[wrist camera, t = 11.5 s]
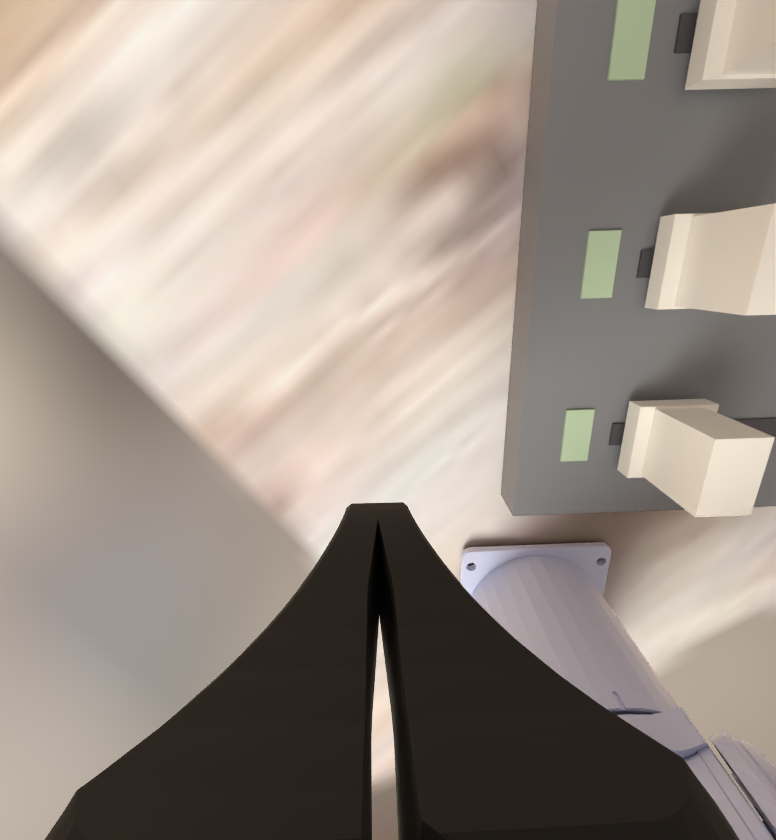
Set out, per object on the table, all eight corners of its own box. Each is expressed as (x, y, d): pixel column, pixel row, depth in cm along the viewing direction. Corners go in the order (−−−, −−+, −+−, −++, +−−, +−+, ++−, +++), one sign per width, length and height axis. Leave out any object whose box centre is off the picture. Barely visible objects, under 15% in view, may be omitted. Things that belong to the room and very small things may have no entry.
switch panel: (844, 481, 22) (890, 502, 20) (500, 494, 22) (513, 517, 20) (1066, -91, 14) (1176, -148, 12) (543, -82, 14) (570, -139, 12)
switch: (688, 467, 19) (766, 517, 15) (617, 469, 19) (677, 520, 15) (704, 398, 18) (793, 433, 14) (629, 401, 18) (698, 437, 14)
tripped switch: (725, 305, 16) (830, 316, 13) (644, 307, 16) (724, 319, 13) (747, 214, 15) (869, 196, 11) (660, 216, 15) (753, 199, 11)
